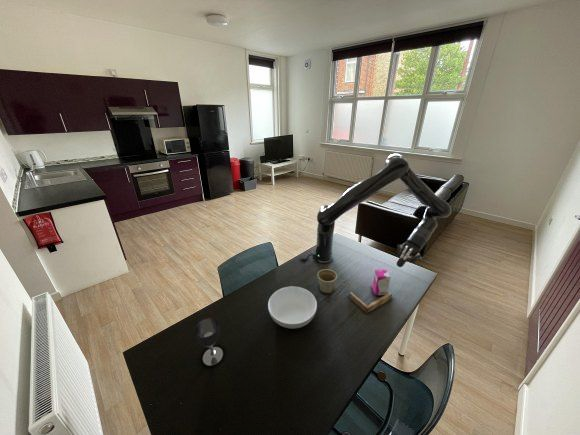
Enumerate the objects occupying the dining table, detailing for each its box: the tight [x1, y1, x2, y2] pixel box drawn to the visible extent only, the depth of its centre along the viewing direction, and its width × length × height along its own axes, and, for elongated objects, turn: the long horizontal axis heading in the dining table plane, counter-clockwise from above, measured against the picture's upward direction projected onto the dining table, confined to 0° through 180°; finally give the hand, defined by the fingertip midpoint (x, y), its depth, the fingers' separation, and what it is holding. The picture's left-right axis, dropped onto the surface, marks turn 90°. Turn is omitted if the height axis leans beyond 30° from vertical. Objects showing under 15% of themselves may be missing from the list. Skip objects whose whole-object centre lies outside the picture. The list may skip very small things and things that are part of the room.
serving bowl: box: [267, 285, 318, 330], centre depth 103 cm, size 21×21×7 cm
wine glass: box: [193, 317, 224, 367], centre depth 84 cm, size 8×8×15 cm
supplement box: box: [371, 268, 391, 297], centre depth 114 cm, size 6×6×12 cm
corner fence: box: [348, 292, 393, 314], centre depth 112 cm, size 16×11×3 cm, turn 121°
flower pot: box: [317, 268, 338, 294], centre depth 117 cm, size 9×9×9 cm
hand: (398, 266), depth 115 cm, fingers closed
